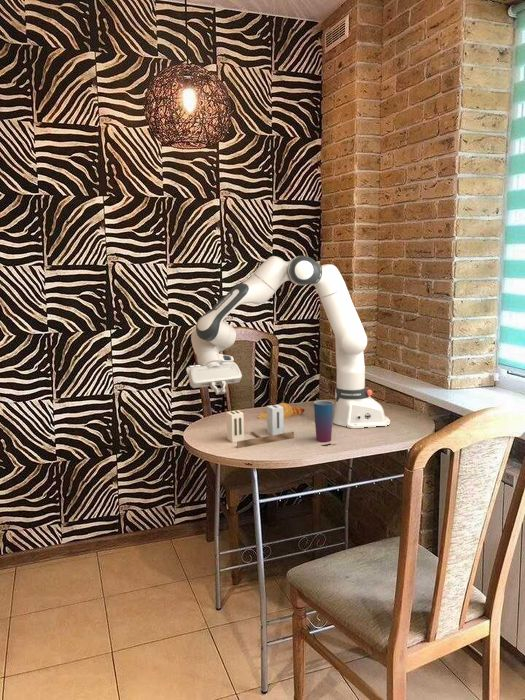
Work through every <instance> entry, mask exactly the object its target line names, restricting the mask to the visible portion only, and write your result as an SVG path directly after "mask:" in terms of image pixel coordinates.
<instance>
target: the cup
mask: <svg viewBox="0 0 525 700" xmlns="http://www.w3.org/2000/svg"><path fill="white" fill-rule="evenodd" d="M313 410H314V423H315V424H314V425H315V427H314V428H315V440H316V442H319V443H325V444H322V445H321V444H320V445H319V446H321V447H328V445H329V446H330V444H331V445H332V443H330V442H331V441H332V432H333V417H334V401H331V400H327V399H318V400H316V401H314V402H313Z"/></svg>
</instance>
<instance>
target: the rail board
mask: <svg viewBox="0 0 525 700" xmlns="http://www.w3.org/2000/svg"><path fill="white" fill-rule="evenodd" d="M250 435H252V436H253V437H255V438H249V439H244V440H242V441H237V442H236V444H237V445H236V449H242V448H247V447H253V446H257V445H258V446H259V445H263V444H269V443H274V442H280V441H286V440H292V439H295V431H289V432H284V433H282V434H276V435H271V434H270V435H265V436H260V435H259V434H257V433H256V432H254V431H251V432H250Z"/></svg>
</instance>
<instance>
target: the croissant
mask: <svg viewBox="0 0 525 700" xmlns="http://www.w3.org/2000/svg"><path fill="white" fill-rule="evenodd" d="M276 405H280V406H282V407H283V417H284V419H287V418H292V417H294V416H295V417H296V416H301V415H303V413H305V408H304V407H300V406H294V405H292V404H291V405H290V404H289V403H287V402H280V403H278V404H276ZM260 419H261V420H267V410H266V411H263V412H262V413H261V414H258V415H257V420H260Z"/></svg>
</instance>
